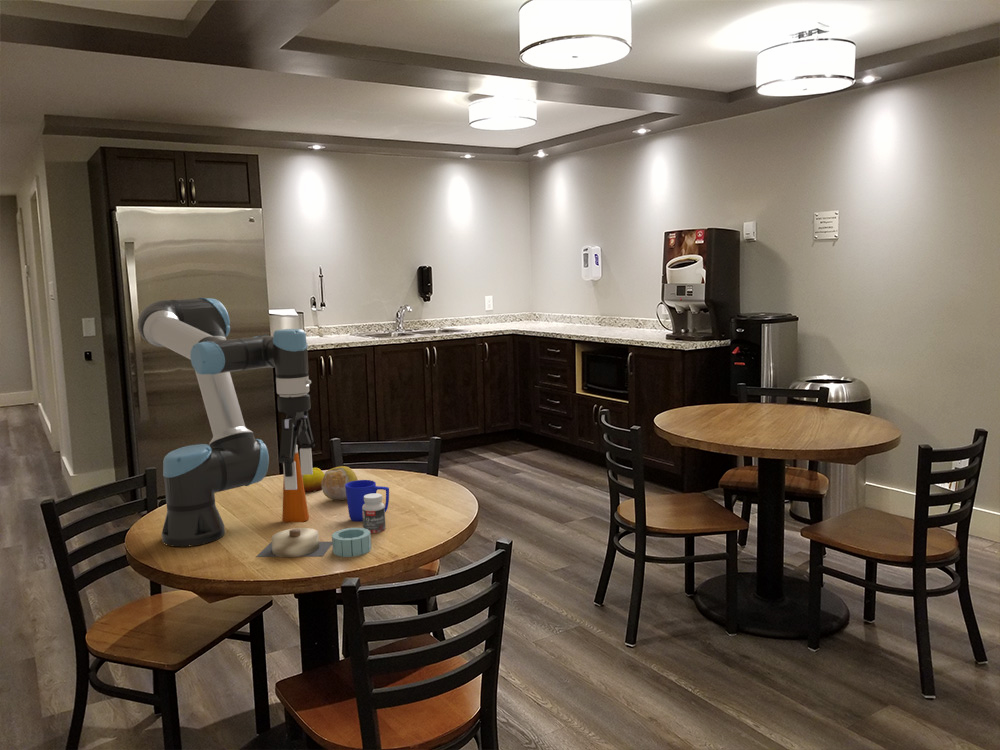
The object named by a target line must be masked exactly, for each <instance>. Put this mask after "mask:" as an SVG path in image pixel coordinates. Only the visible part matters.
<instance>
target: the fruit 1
mask: <svg viewBox="0 0 1000 750" xmlns="http://www.w3.org/2000/svg"><path fill="white" fill-rule="evenodd" d="M312 468H313V474H303V475H302V479H303V485H304V490H305V494H308V493H315V492H318V491H321V490H322V480H323V477H324V475H325V473H324V472H323V470H321V469H320V468H318V467H312Z"/></svg>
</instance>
